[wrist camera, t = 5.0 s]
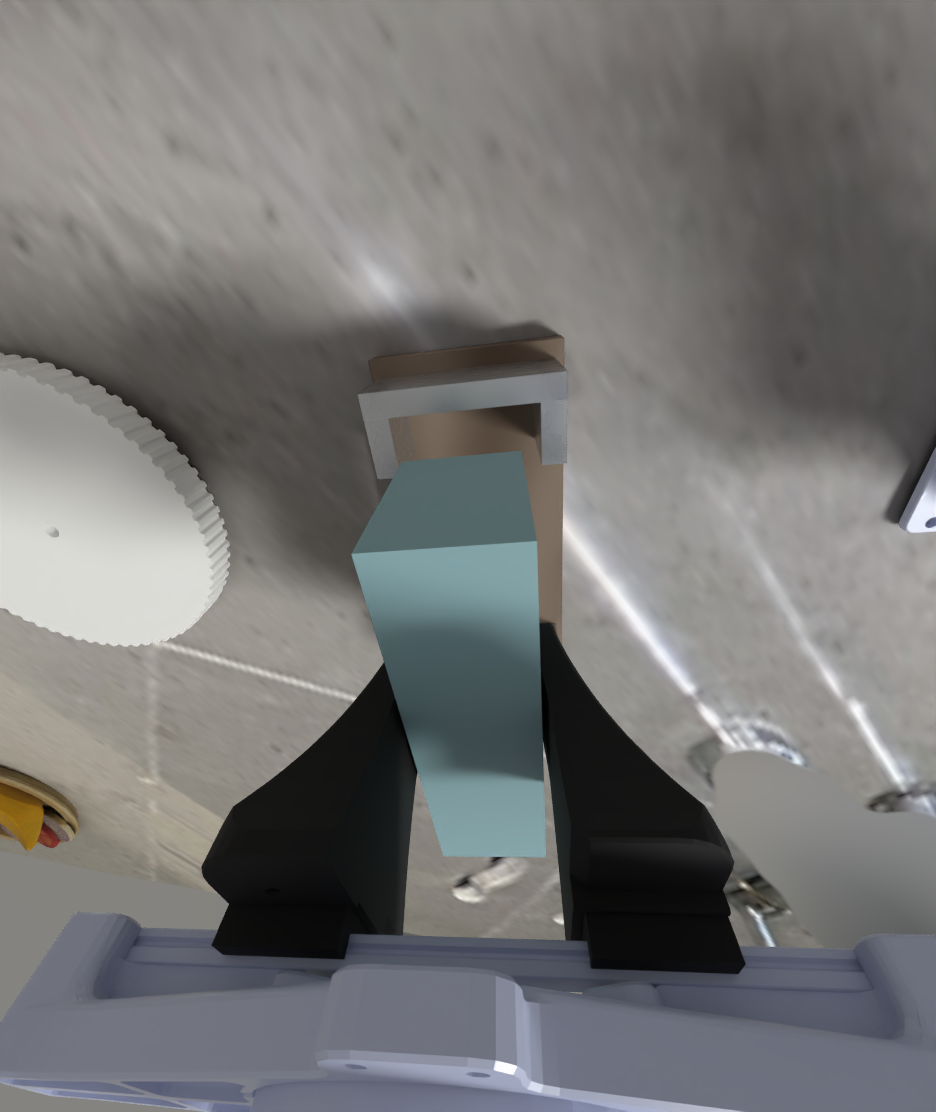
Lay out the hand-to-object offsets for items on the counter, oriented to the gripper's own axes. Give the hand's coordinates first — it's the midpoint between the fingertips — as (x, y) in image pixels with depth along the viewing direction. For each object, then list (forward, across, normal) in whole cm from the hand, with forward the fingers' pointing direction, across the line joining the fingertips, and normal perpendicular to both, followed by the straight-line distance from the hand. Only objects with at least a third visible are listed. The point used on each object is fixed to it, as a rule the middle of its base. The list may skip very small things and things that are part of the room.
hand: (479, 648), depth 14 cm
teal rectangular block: (+2, 0, 0) cm, 2 cm away
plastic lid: (+8, +19, -3) cm, 21 cm away
